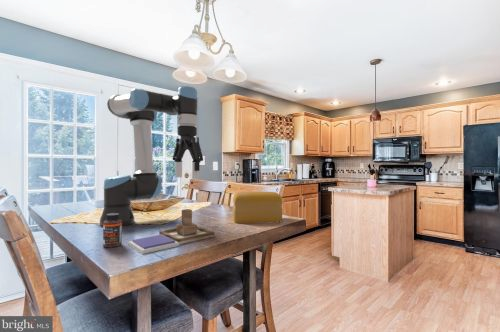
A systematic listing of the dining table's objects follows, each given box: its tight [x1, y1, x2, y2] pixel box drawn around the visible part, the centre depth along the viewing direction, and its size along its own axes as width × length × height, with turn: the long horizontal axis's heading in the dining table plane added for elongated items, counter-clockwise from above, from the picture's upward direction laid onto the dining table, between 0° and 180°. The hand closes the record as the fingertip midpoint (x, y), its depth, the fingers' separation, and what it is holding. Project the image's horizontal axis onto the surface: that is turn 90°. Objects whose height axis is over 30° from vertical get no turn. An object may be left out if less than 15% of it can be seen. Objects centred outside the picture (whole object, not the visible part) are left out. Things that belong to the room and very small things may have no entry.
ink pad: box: [127, 234, 180, 255], centre depth 94 cm, size 13×13×2 cm
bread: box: [232, 191, 283, 224], centre depth 137 cm, size 24×13×15 cm, turn 98°
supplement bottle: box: [102, 213, 123, 249], centre depth 93 cm, size 6×6×11 cm
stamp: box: [175, 208, 198, 237], centre depth 106 cm, size 6×6×10 cm
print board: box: [158, 225, 215, 245], centre depth 106 cm, size 16×16×2 cm
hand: (186, 178), depth 106 cm, fingers open, 13 cm apart
